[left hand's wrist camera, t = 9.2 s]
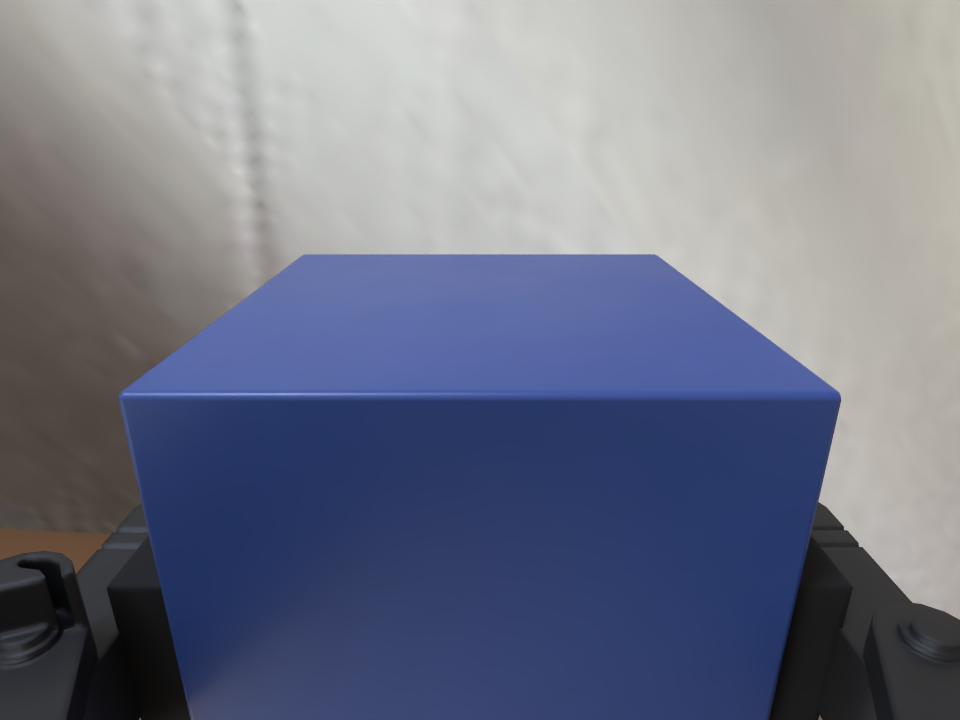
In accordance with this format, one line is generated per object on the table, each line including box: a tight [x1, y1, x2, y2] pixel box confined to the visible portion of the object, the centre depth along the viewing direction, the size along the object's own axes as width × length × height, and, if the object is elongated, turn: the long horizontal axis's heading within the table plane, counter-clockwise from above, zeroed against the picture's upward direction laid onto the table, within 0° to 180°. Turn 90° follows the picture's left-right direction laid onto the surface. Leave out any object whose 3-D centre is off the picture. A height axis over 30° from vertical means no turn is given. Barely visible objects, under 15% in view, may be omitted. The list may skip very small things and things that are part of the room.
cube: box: [118, 255, 841, 720], centre depth 11 cm, size 8×8×7 cm
